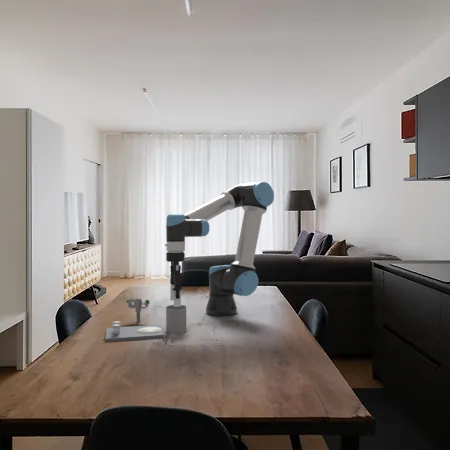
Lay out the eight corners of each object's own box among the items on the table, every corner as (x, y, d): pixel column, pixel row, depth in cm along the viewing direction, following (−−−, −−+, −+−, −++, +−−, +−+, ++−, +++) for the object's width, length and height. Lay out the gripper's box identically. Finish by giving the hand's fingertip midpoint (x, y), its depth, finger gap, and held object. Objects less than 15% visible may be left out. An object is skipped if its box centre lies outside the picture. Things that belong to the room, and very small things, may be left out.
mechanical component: (147, 322, 195) (147, 300, 195) (126, 321, 197) (125, 299, 197) (150, 321, 198) (150, 299, 198) (129, 320, 200) (128, 298, 200)
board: (160, 327, 187) (160, 316, 187) (163, 337, 171) (163, 325, 171) (107, 330, 182) (106, 319, 182) (105, 341, 167) (105, 329, 167)
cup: (166, 328, 185) (166, 305, 185) (186, 328, 186) (186, 304, 186) (165, 334, 177) (165, 309, 177) (186, 333, 178) (186, 308, 177)
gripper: (163, 249, 192) (163, 298, 192) (169, 254, 168) (169, 309, 168) (181, 249, 194) (180, 297, 194) (188, 254, 169) (188, 309, 170)
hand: (175, 303), depth 181 cm, fingers open, 13 cm apart
